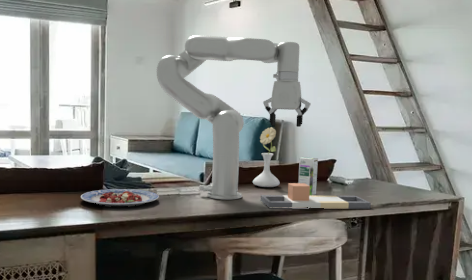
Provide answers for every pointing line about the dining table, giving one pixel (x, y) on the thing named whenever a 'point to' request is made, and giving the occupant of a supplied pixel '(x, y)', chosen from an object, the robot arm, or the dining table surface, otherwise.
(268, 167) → the flower in vase
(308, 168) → the syrup box
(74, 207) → the dining table surface
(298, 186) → the terracotta block
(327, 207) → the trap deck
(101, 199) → the ceramic plate
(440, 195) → the dining table surface
